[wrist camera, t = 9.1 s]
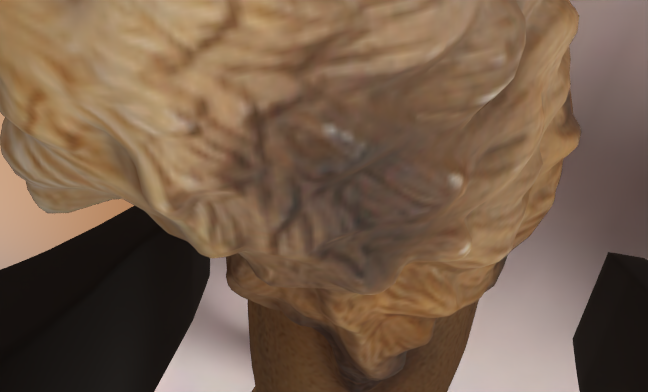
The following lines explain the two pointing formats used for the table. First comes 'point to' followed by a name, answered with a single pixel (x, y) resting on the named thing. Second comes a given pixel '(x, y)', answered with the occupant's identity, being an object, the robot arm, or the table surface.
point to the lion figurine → (308, 156)
